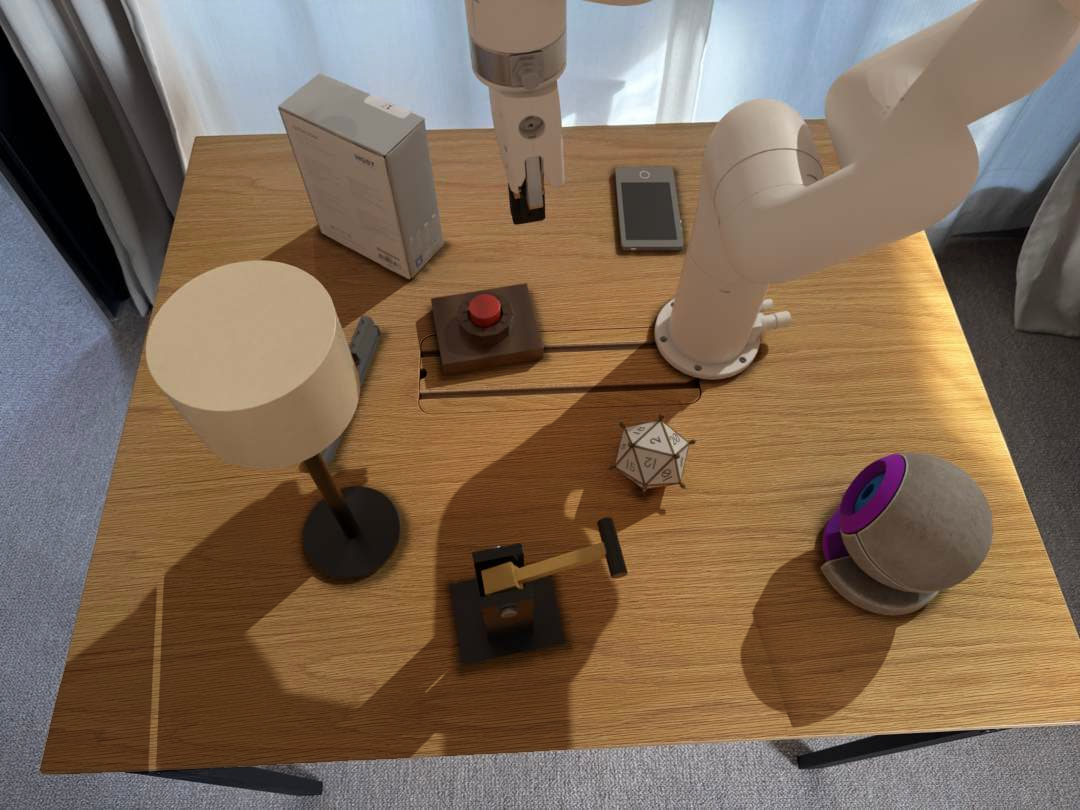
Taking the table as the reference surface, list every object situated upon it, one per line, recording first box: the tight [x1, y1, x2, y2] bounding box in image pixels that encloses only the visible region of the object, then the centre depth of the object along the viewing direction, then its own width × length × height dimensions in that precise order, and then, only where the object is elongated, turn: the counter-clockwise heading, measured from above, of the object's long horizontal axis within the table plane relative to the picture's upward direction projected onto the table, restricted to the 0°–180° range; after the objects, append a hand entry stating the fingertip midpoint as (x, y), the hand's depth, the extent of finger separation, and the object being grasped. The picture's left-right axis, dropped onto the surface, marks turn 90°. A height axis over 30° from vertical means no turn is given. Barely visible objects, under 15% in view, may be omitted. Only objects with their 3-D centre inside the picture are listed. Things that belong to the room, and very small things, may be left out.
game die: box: [606, 411, 698, 493], centre depth 81 cm, size 9×8×10 cm
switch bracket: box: [449, 542, 566, 666], centre depth 70 cm, size 10×8×13 cm
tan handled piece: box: [481, 516, 629, 596], centre depth 66 cm, size 12×5×2 cm, turn 102°
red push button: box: [469, 294, 501, 327], centre depth 90 cm, size 4×4×2 cm
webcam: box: [820, 452, 994, 616], centre depth 73 cm, size 13×13×15 cm
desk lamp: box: [145, 260, 403, 581], centre depth 65 cm, size 12×12×36 cm
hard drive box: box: [277, 72, 445, 280], centre depth 93 cm, size 16×8×20 cm, turn 58°
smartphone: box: [614, 166, 685, 251], centre depth 104 cm, size 15×8×1 cm, turn 1°
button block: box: [430, 282, 545, 376], centre depth 92 cm, size 12×10×4 cm
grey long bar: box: [320, 314, 382, 467], centre depth 87 cm, size 19×3×4 cm, turn 168°
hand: (527, 216), depth 75 cm, fingers closed
